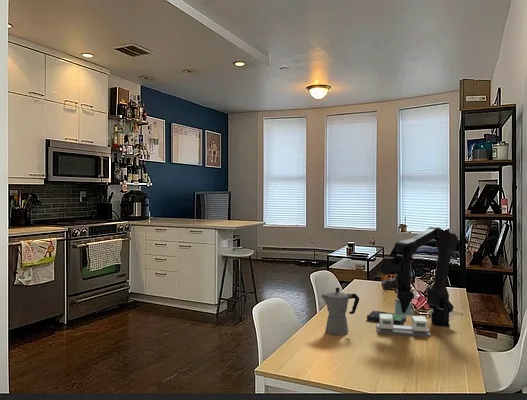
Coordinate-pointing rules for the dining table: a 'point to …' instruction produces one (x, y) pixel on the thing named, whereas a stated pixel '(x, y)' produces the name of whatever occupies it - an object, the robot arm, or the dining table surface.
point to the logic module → (399, 310)
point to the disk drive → (375, 314)
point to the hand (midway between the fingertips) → (403, 311)
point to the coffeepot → (338, 311)
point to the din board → (403, 326)
